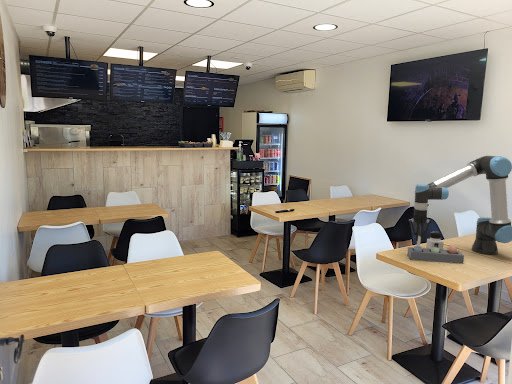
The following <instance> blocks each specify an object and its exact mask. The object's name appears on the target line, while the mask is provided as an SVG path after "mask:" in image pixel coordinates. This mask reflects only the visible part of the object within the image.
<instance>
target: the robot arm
mask: <svg viewBox="0 0 512 384" xmlns="http://www.w3.org/2000/svg"><path fill="white" fill-rule="evenodd" d="M511 171H512V162H511V160H510V159H508V158H507V157H504V156H498V155H484V156H481V157H479V158H476V159H474V160H472V161H469V162H467V163H466V165H465V166H463V167H460V168H459V169H457V170H454V171H453V172H451V173H448V174H446V175H444V176H443V177H441V178H438V179H436V180H434V181H432V182H430V183H428V184H426V183H418V184H416V185H415V190H414V206H413V208H414V209H413V216H412V218H411V219H408V221H409V223H410V227H411V231H412V233H411V234H412V235H413V236H415V239H414V240H415V241H416V246H417V247H421V242H423V237H425V236H427V233H428V230H429V227H430V224H431V223H432V221H431V220H430V219H428V205H429V204H428V203H429V201H431V200H434V201H435V200H438V201H440V200H441V201H443V200H444V201H445V200H447V199H448V198H449V194H450V193H449V190H448V188H450V187H452V186H454V185H456V184H458V183H461V182H463V181H465V180H467V179H469V178H472V177H477V176H480V175H485V179H486V180H487V181H488V182H489V199H490V211H491V212H490V213H491V217H478V218H477V221H476V231H475V239H474V241H473V244H472V246H471V251H472V252H474V253H478V254H483V255H490V256H491V255H493V256H494V255H498V254H499V249H498V244H497V243H501V244H507V243H510V242H512V220H511V219H510V218H509V214H508V201H507V199H508V198H507V196H508V195H507V183H506V182H507V180H508V178H509V175H510V173H511ZM414 223H415V225H414ZM425 223H426V224H425ZM424 225H425V227H424Z"/></svg>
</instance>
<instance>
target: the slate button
mask: <svg viewBox="0 0 512 384" xmlns="http://www.w3.org/2000/svg"><path fill="white" fill-rule="evenodd" d="M413 248H414V251H419V252H422V248H423V247H422V246H420V247H417V245H415V246H414V245H413Z"/></svg>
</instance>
